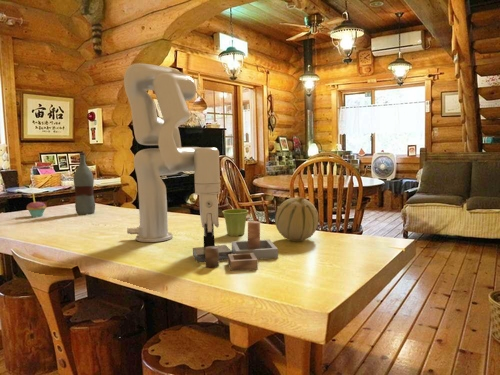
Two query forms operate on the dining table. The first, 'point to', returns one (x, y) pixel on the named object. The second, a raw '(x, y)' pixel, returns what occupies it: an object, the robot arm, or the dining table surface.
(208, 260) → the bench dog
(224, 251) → the grey rectangular block
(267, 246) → the tray
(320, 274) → the dining table surface
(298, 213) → the cantaloupe
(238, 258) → the socket block
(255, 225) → the dowel
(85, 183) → the bottle
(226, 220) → the plant pot
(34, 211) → the cupcake
